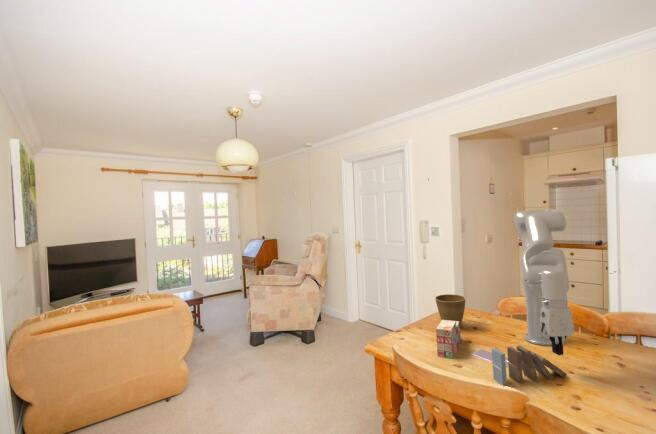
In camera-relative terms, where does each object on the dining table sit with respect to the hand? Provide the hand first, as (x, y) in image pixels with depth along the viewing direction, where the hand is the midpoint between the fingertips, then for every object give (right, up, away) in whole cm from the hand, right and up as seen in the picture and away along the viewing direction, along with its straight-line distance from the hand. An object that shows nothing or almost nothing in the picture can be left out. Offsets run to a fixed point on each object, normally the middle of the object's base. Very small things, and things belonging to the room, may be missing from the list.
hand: (557, 353), depth 115 cm
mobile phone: (-15, -9, +16) cm, 24 cm away
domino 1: (-22, -9, -3) cm, 24 cm away
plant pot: (-18, -9, +52) cm, 56 cm away
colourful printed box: (-29, -10, +28) cm, 41 cm away
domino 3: (-11, -8, -1) cm, 13 cm away
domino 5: (+1, -7, 0) cm, 7 cm away
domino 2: (-16, -9, -2) cm, 19 cm away
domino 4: (-5, -8, -1) cm, 9 cm away
